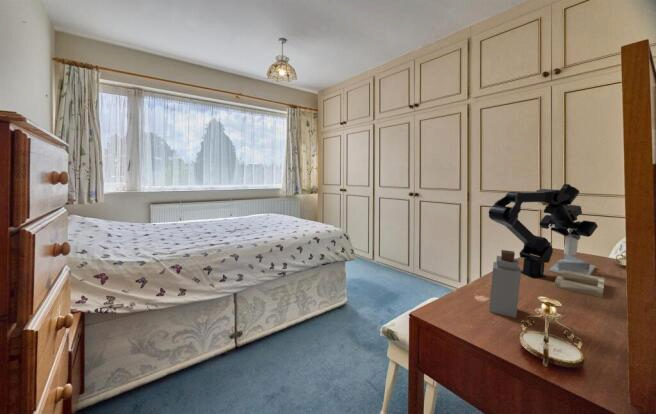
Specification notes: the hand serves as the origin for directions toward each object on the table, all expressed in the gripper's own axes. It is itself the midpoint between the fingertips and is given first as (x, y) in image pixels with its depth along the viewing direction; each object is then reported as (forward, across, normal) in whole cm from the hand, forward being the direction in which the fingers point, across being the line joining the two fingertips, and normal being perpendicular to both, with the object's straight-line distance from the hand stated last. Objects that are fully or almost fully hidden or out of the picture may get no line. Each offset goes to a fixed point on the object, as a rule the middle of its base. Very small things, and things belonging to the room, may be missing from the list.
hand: (574, 237), depth 122 cm
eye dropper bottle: (+4, 0, +6) cm, 7 cm away
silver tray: (+10, -1, +9) cm, 13 cm away
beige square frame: (-2, -13, +22) cm, 25 cm away
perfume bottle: (-33, -18, +53) cm, 65 cm away
